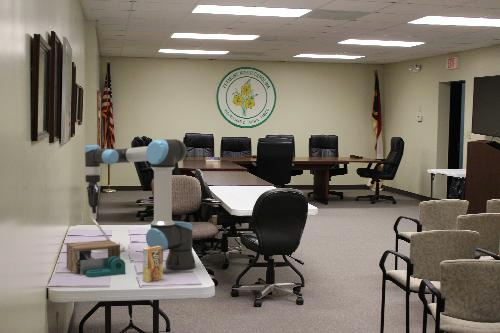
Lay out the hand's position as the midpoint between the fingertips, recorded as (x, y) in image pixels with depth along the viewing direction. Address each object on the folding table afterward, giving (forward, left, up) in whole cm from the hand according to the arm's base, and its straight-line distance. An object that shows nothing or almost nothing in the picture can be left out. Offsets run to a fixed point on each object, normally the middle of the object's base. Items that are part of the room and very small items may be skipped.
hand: (93, 219), depth 342 cm
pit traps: (-8, +7, -21) cm, 24 cm away
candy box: (-57, -10, -22) cm, 62 cm away
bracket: (-36, +6, -22) cm, 43 cm away
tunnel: (-22, +7, -21) cm, 31 cm away
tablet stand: (+24, -15, -22) cm, 36 cm away
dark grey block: (-19, +7, -21) cm, 29 cm away
